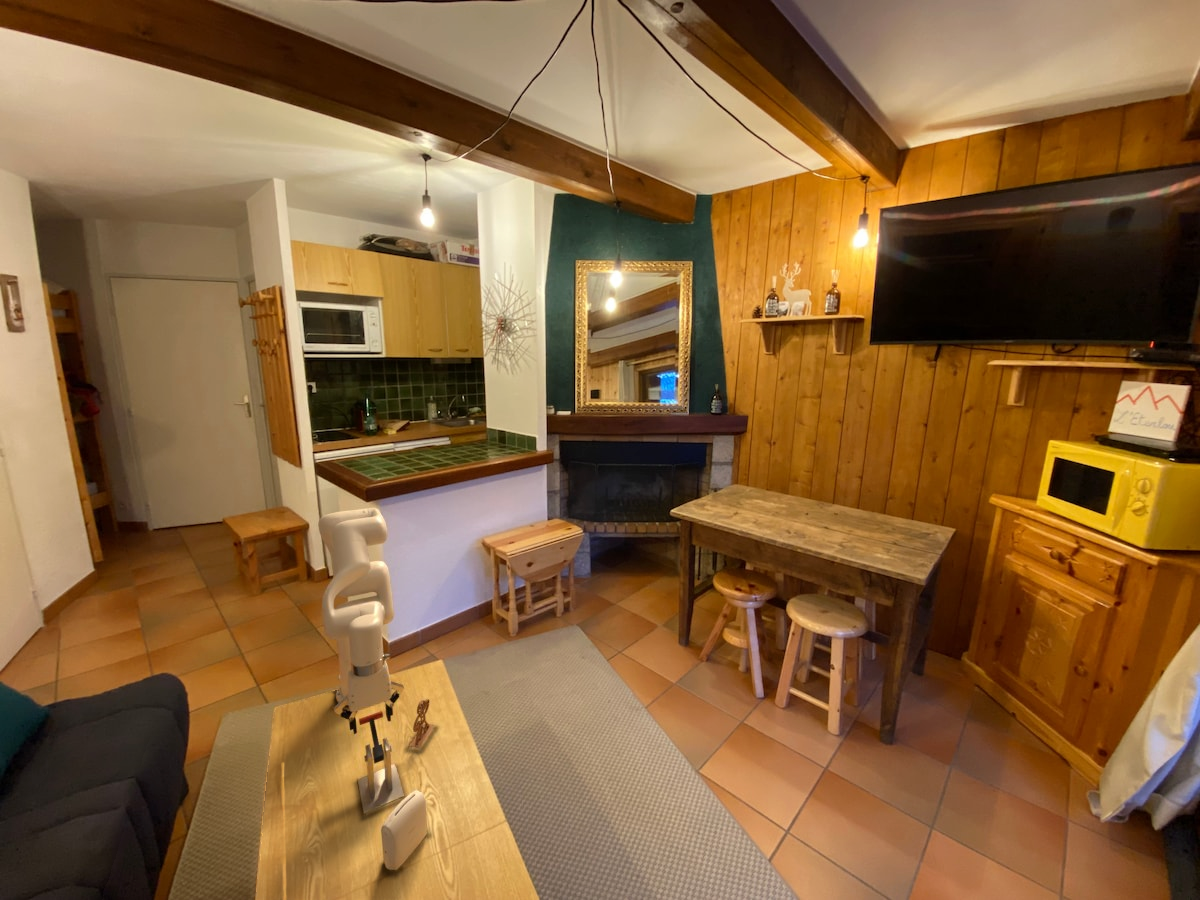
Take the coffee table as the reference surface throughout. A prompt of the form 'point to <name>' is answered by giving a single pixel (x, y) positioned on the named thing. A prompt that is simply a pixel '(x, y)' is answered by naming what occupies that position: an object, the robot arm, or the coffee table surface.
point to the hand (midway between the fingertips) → (371, 723)
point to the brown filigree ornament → (420, 729)
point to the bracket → (379, 781)
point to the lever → (374, 735)
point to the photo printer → (404, 830)
